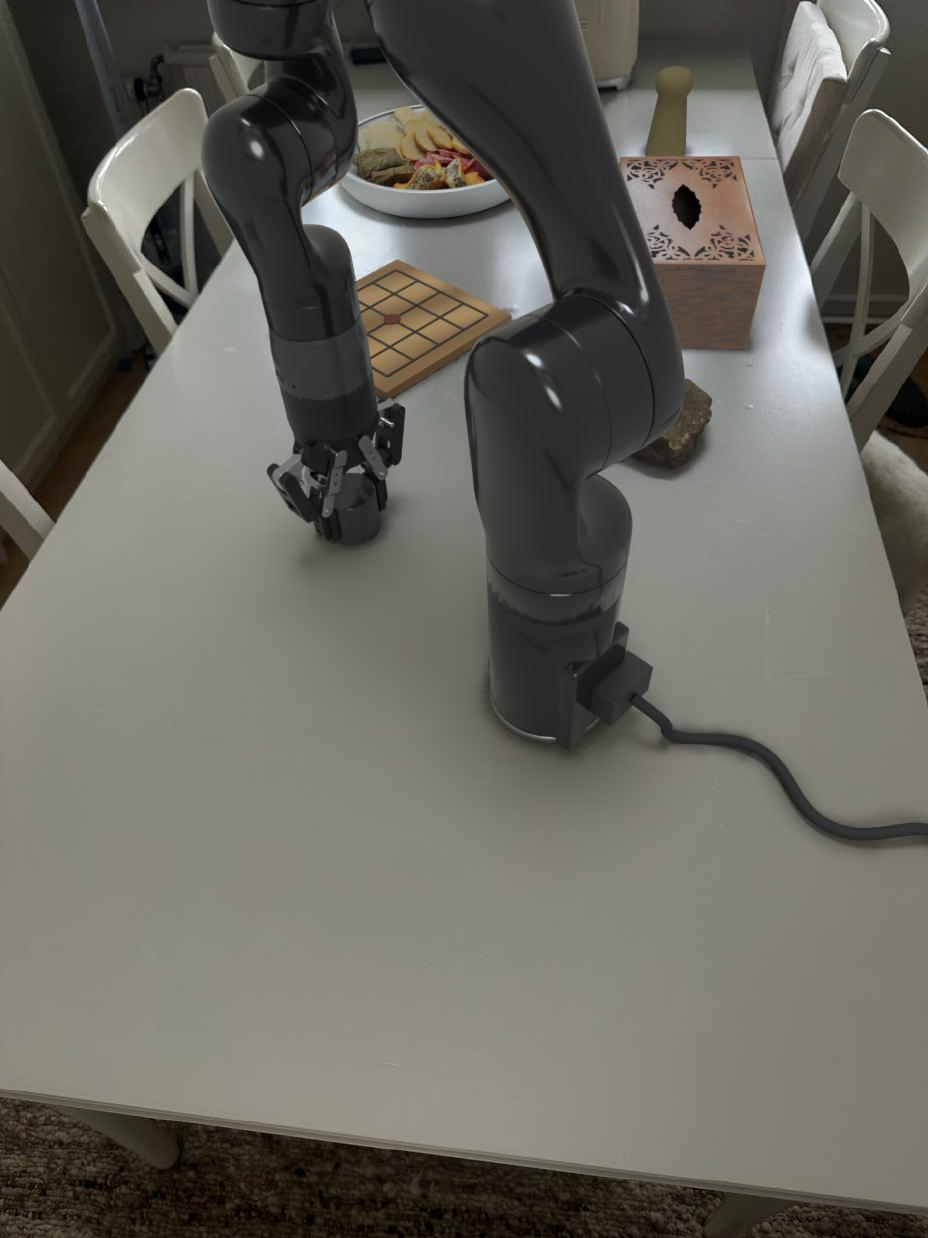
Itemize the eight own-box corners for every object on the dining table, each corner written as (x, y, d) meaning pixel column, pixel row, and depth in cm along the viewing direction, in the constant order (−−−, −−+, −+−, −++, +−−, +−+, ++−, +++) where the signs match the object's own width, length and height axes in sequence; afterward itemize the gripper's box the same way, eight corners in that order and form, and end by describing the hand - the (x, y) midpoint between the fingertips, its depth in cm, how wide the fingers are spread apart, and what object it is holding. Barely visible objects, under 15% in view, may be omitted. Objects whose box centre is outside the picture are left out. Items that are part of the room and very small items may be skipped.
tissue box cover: (612, 235, 115) (619, 156, 107) (723, 235, 113) (739, 155, 106) (616, 347, 98) (625, 263, 91) (745, 348, 97) (766, 264, 89)
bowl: (312, 223, 120) (301, 165, 114) (365, 133, 139) (358, 78, 133) (525, 234, 116) (526, 173, 110) (551, 139, 134) (553, 83, 128)
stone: (675, 488, 84) (691, 440, 79) (546, 436, 88) (555, 387, 83) (710, 434, 90) (727, 387, 85) (588, 387, 93) (598, 339, 89)
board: (511, 323, 102) (511, 313, 101) (387, 401, 94) (385, 390, 93) (398, 267, 112) (397, 257, 111) (275, 333, 103) (273, 323, 102)
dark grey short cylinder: (392, 524, 82) (386, 489, 78) (352, 552, 80) (344, 517, 76) (357, 500, 84) (351, 464, 81) (318, 527, 82) (309, 492, 78)
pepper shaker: (637, 148, 131) (645, 66, 122) (671, 139, 132) (682, 57, 124) (659, 163, 127) (669, 80, 119) (693, 154, 129) (706, 71, 120)
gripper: (281, 430, 63) (320, 583, 77) (422, 345, 70) (436, 501, 83) (222, 389, 67) (269, 542, 80) (361, 312, 73) (384, 466, 86)
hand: (354, 520), depth 81 cm, fingers closed on dark grey short cylinder, 5 cm apart
